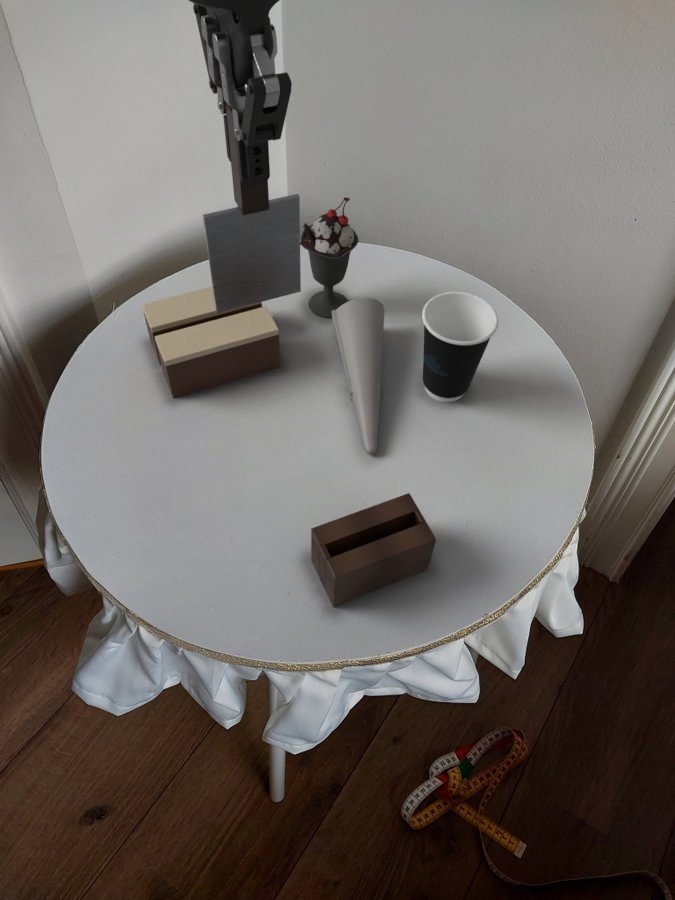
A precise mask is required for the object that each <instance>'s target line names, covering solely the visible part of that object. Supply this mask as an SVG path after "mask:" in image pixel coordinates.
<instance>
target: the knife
mask: <svg viewBox="0 0 675 900" xmlns="http://www.w3.org/2000/svg"><path fill="white" fill-rule="evenodd" d="M225 105H226V114H225V115H226V116H227V126H228V137H229V147H230V158H231V162H230V167H231V176H232V189H233V199H234V202H235V203H236V205H237V206H235V207H231V208H227V209H223V210H217V211H213V212H209V213H208V212H207V213H205V214H202V220H203V227H204V234H205V243H206V248H207V256H208V263H209V270H210V278H211V283H212V286H211V287H213V293H214V300H215V307H216V312H217V313H220V312H224V311H228V310H232V309H236V308H239V307H243V306H247V305H251V304H255V303H259V302H266V301H270V300H273V299H278V298H282V297H285V296H290V295H293V294H297V293H301V291H302V287H301V285H302V283H301V282H302V281H301V279H302V278H301V245H300V242H301V209H300V208H301V205H300V201H301V200H300V199H301V198H300V194H299V193H295V194H291V195H290V194H289V195H285V196H281V197H276V198H273V199H270V195H269V179H268V180H267V181H265V182H262V183H257V184H252V185H244V184H243V183H242V181H241V179H240V178H239V171H238V159H237V148H236V136H235V134H234V121H233V112H232V108H231V107H230V106H229V105H228V103H227V102H226V103H225Z"/></svg>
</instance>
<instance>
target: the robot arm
mask: <svg viewBox="0 0 675 900" xmlns="http://www.w3.org/2000/svg"><path fill="white" fill-rule="evenodd" d="M280 1H281V0H188V2H191V3H193V5H192V9H193V13H194V15H195V19H196V23H197V28H198V34H199V37H200V42H201V47H202V51H203V57H204V62H205V65H206V66H205V67H206V70H207V75H208V79H209V81H208V84H209V89H210V90H211V92H212V93H213V95H215V94H217V102H216V103H217V108H218V111H220V114H221V115H222V118H223V125H224V126H223V127H224V136H225V146H226V148H225V149H226V157H227V159H228V161H229V162H230V163H231V158H230V147H229V137H228V126H227V116H226V105H225V103H226V102H227V103H228V105H229V106H230V107H231V108H232V112H233V121H234V134H235V136H236V148H237V159H238V171H239V178H240V179H241V181H242V183H243V184H244V185H252V184H257V183H262V182H265V181H267V180H268V181H269V179H270V178H271V171H270V169H271V167H270V150H269V148H270V147H269V146H270V145H269V141H278V140H281V139H282V134H283V130H284V125H285V120H286V116H287V111H288V107H289V102H290V98H291V94H292V87H293V85H292V84H293V83H292V80H291V78H290V74H289V73H288V72H287V71H286V72H280V73H276V63H275V59H276V57H277V54H278V39H277V32H276V31H277V30H276V27H275V26H274V24H272V23H271V18H270V11H271V9H272V8H273V7H275V5H276V4H277V3H279V2H280Z"/></svg>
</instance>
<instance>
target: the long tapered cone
mask: <svg viewBox="0 0 675 900" xmlns="http://www.w3.org/2000/svg"><path fill="white" fill-rule="evenodd" d="M385 311H386V310H385V306H384V304H383V303H382V302H381V301H380V300H378V299H375V298H371V297H360V298H354V299H351V300H348V301H347V302H346V303H344V304H343V305H341V306H340V307H339V308H338V309H336V310H332V317H331V318H332V325H333V331H334V336H335V339H336V343H337V349H338V351H339V352H338V353H339V357H340V360H341V364H342V369H343V372H344V377H345V380H346V386H347V389H348V394H349V397H350V401H351V402H352V405H353V410H354V413H355V414H354V415H355V418H356V422H357V425H358V426H357V427H358V430H359V435H360V441H361V444H362V447H363V450H364V451H365V453H366V455H369V456H372V455H374V454H375V453H376V451H377V446H378V436H379V435H378V434H379V423H380V406H381V405H380V402H381V384H382V366H383V365H382V364H383V363H382V362H383V348H384V345H383V344H384V331H385Z"/></svg>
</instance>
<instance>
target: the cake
mask: <svg viewBox="0 0 675 900" xmlns="http://www.w3.org/2000/svg"><path fill="white" fill-rule="evenodd" d="M141 308H142V312H143V316H144V320H145V324H146V328H147V333H148V337H149V340H150V344H151V346H152V349H153V351H154V355H155V356H156V359H157V362H158V364H159V365H160V366H161V370H162V373H163V376H164V379H165V381H166V384H167V385H168V389H169V391H170V394H171V397H172V399H175V398H178V397H183V396H185V395H188V394H189V395H190V394H191V393H195V392H199V391H202V390H205V389H208V388H212V387H216V386H218V385H222V384H225V383H230V382H232V381H235V380H236V381H237V380H239V379H243V378H246V377H249V376H253V375H256V374H259V373H263V372H266V371H269V370H273V369H277V368H280V367H281V350H280V349H281V347H280V329H279V327H278V325H277V324H276V322H275V320H274V318H273V316H272V315H271V313H270V311H269V309H268V307H267V306H263V303H262V302H259V303H255V304H251V305H247V306H243V307H239V308H236V309H232V310H228V311H224V312H220V313H217V312H216V307H215V300H214V293H213V286H208V287H204V288H201V289H197V290H194V291H189V292H186V293H182V294H178V295H174V296H170V297H166V298H162V299H159V300H154V301H150V302H147V303H143V304H141Z"/></svg>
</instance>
